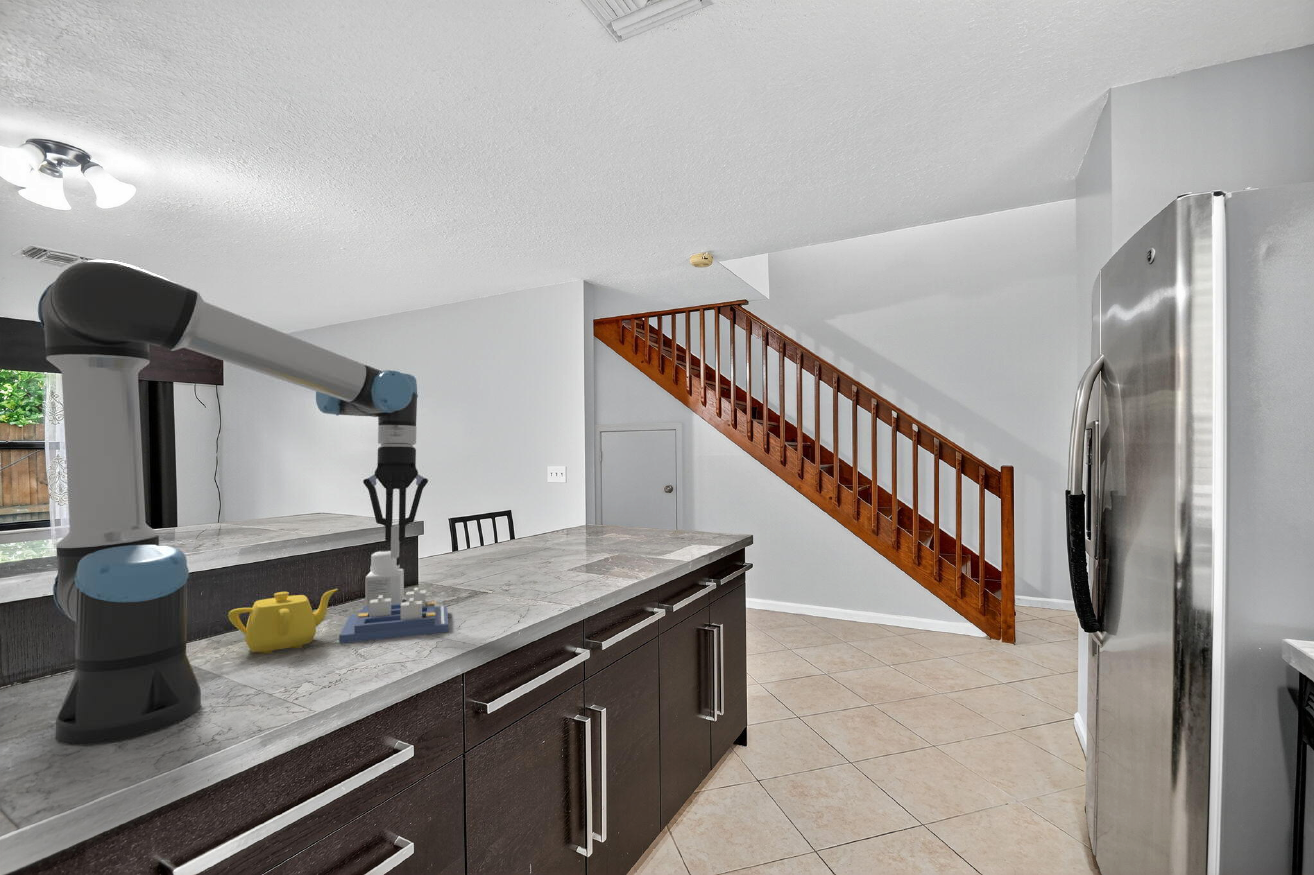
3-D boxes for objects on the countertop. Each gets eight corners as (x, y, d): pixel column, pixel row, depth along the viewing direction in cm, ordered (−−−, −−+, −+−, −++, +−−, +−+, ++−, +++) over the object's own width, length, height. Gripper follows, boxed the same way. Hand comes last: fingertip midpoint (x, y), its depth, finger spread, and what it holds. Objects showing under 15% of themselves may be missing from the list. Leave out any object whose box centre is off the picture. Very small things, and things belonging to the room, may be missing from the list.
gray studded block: (369, 622, 124) (369, 599, 124) (370, 618, 126) (370, 596, 127) (390, 620, 125) (390, 597, 125) (391, 616, 128) (391, 594, 128)
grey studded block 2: (400, 625, 121) (400, 601, 121) (401, 621, 124) (401, 598, 124) (421, 623, 123) (421, 599, 123) (422, 619, 125) (422, 596, 125)
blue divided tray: (339, 643, 116) (339, 626, 116) (350, 621, 131) (350, 607, 131) (448, 631, 123) (448, 616, 123) (446, 612, 138) (446, 598, 138)
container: (370, 601, 149) (370, 549, 149) (403, 599, 151) (403, 547, 151) (365, 609, 141) (365, 554, 142) (400, 606, 144) (400, 552, 144)
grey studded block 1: (406, 613, 131) (406, 591, 131) (406, 609, 134) (406, 588, 134) (425, 611, 132) (425, 589, 132) (425, 608, 135) (425, 586, 135)
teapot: (284, 633, 123) (284, 583, 123) (338, 636, 120) (338, 585, 121) (223, 655, 110) (223, 599, 110) (283, 660, 107) (283, 602, 107)
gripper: (361, 445, 122) (358, 561, 121) (429, 445, 127) (427, 558, 126) (365, 446, 129) (362, 555, 128) (429, 446, 134) (427, 552, 133)
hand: (394, 556), depth 127 cm, fingers closed
